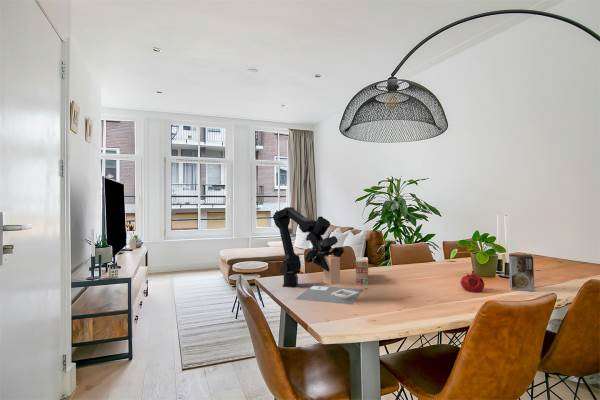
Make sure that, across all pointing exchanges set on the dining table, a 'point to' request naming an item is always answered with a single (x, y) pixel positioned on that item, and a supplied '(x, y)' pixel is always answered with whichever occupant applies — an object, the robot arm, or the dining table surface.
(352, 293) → the board
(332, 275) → the column block
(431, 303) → the dining table surface
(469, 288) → the pomegranate
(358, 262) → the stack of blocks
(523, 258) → the coffee box
